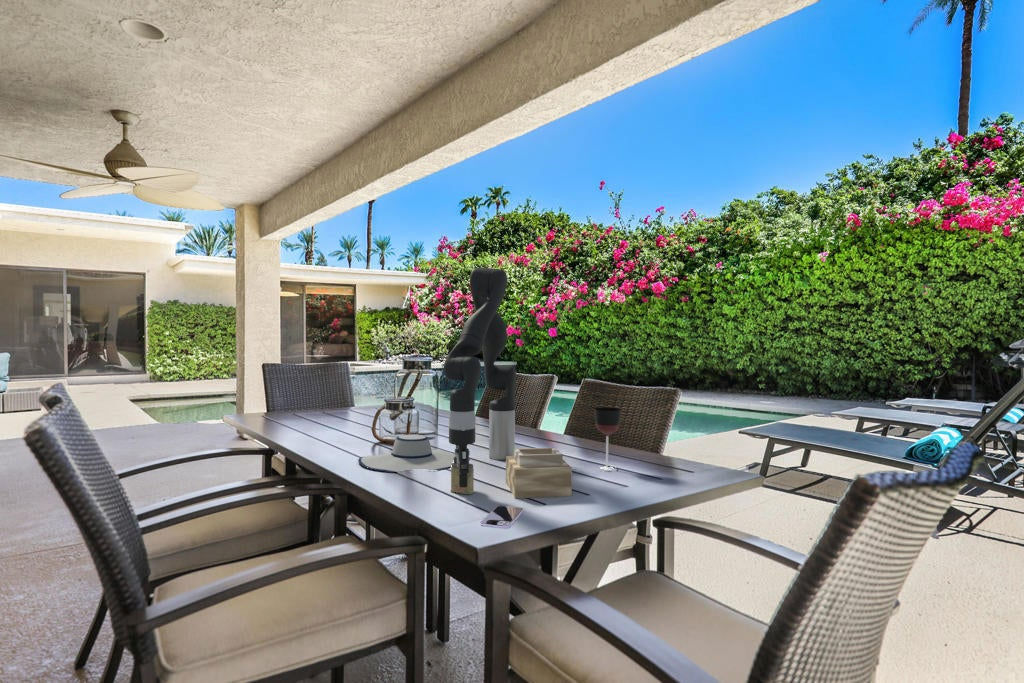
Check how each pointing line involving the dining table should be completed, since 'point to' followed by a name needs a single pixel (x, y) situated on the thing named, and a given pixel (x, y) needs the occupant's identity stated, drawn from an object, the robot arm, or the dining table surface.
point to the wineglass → (607, 425)
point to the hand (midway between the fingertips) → (461, 483)
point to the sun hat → (409, 456)
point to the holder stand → (538, 473)
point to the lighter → (455, 479)
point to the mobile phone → (502, 516)
